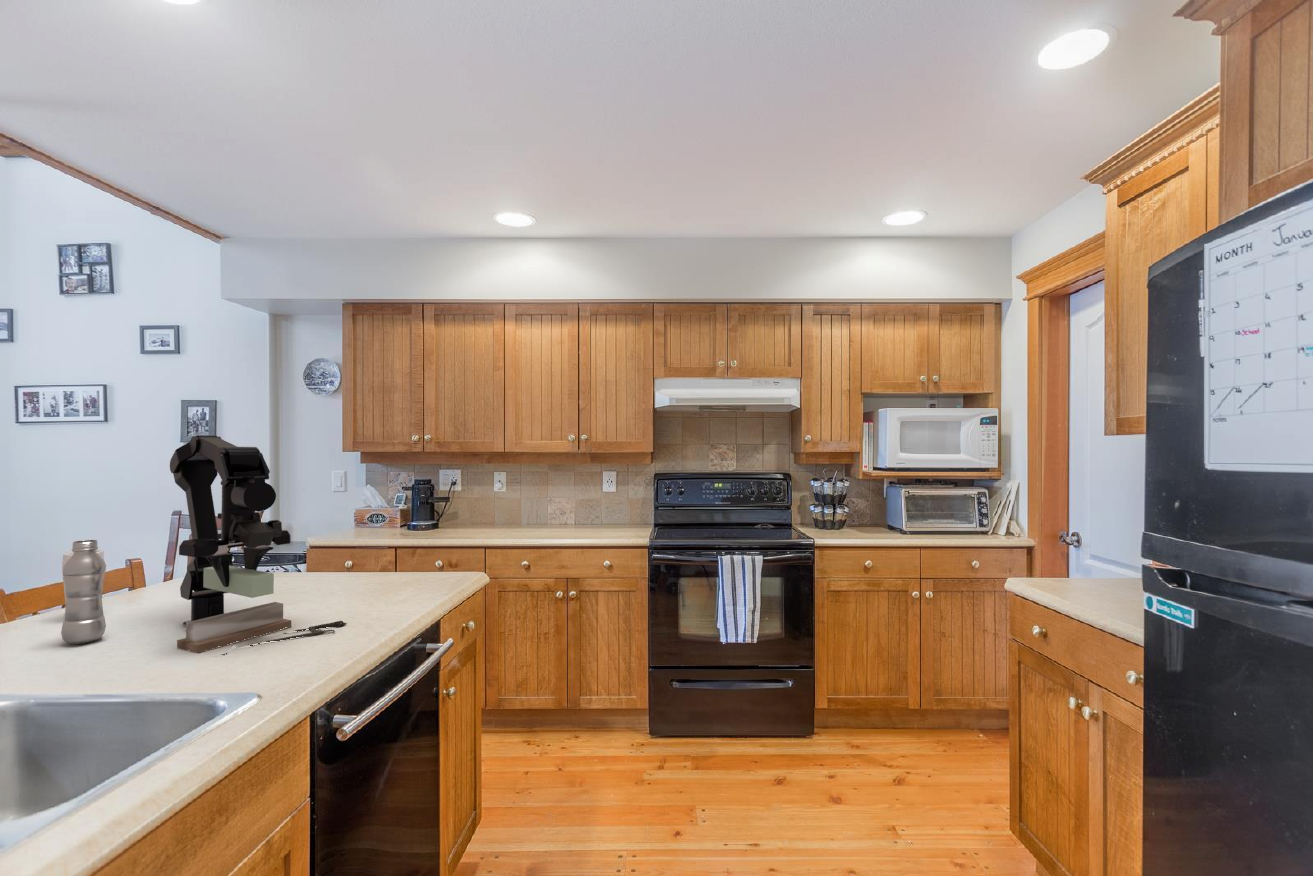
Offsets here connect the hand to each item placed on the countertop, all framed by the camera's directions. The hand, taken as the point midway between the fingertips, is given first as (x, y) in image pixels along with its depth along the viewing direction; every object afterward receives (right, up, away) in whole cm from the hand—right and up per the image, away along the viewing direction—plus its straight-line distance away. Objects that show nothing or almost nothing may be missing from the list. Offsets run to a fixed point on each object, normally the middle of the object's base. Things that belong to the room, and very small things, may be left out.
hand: (237, 584), depth 123 cm
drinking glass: (-44, -11, +13) cm, 47 cm away
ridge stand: (0, -11, 0) cm, 11 cm away
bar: (0, -1, 0) cm, 1 cm away
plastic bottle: (-28, -11, -4) cm, 30 cm away
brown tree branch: (+10, -11, -2) cm, 15 cm away
